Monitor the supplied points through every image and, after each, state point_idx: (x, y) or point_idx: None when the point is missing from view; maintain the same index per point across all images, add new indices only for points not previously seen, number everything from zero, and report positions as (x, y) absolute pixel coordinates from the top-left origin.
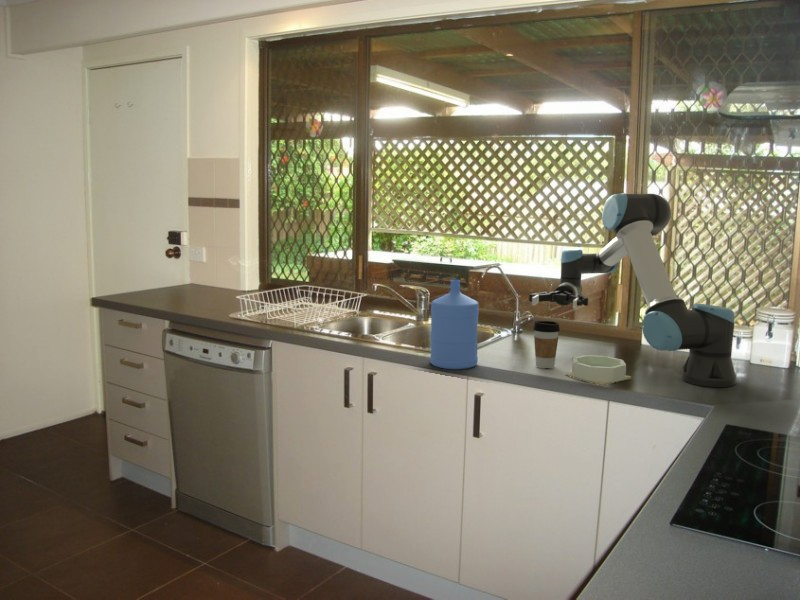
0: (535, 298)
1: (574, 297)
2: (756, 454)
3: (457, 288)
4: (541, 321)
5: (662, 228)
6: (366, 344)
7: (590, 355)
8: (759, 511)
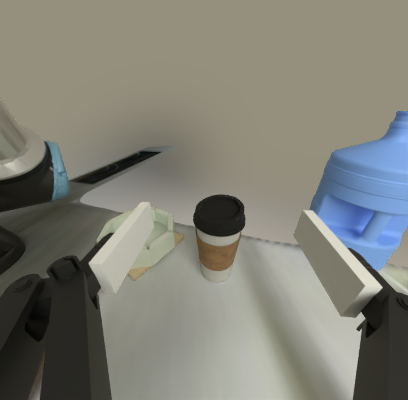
0: (309, 225)
1: (88, 328)
2: (107, 169)
3: (389, 128)
4: (234, 217)
5: None
6: None
7: (141, 250)
8: (136, 155)
